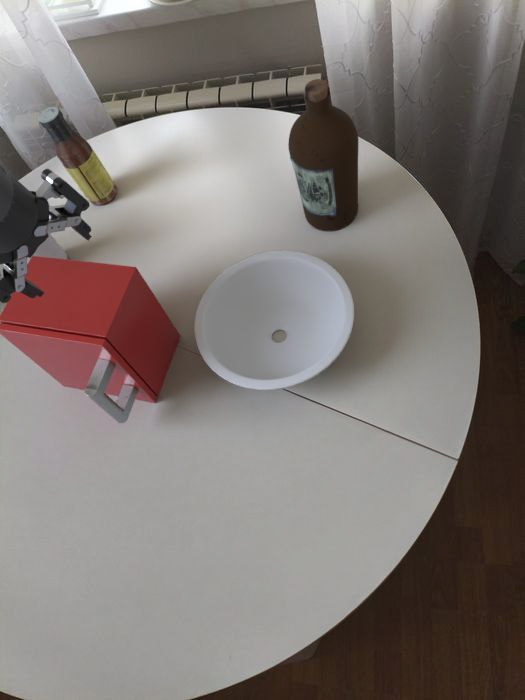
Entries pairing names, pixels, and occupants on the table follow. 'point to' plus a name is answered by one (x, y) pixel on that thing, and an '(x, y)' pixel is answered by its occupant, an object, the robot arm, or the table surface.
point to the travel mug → (50, 250)
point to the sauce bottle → (78, 158)
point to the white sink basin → (274, 320)
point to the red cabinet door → (83, 367)
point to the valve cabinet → (99, 311)
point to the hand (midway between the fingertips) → (61, 262)
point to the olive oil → (325, 160)
